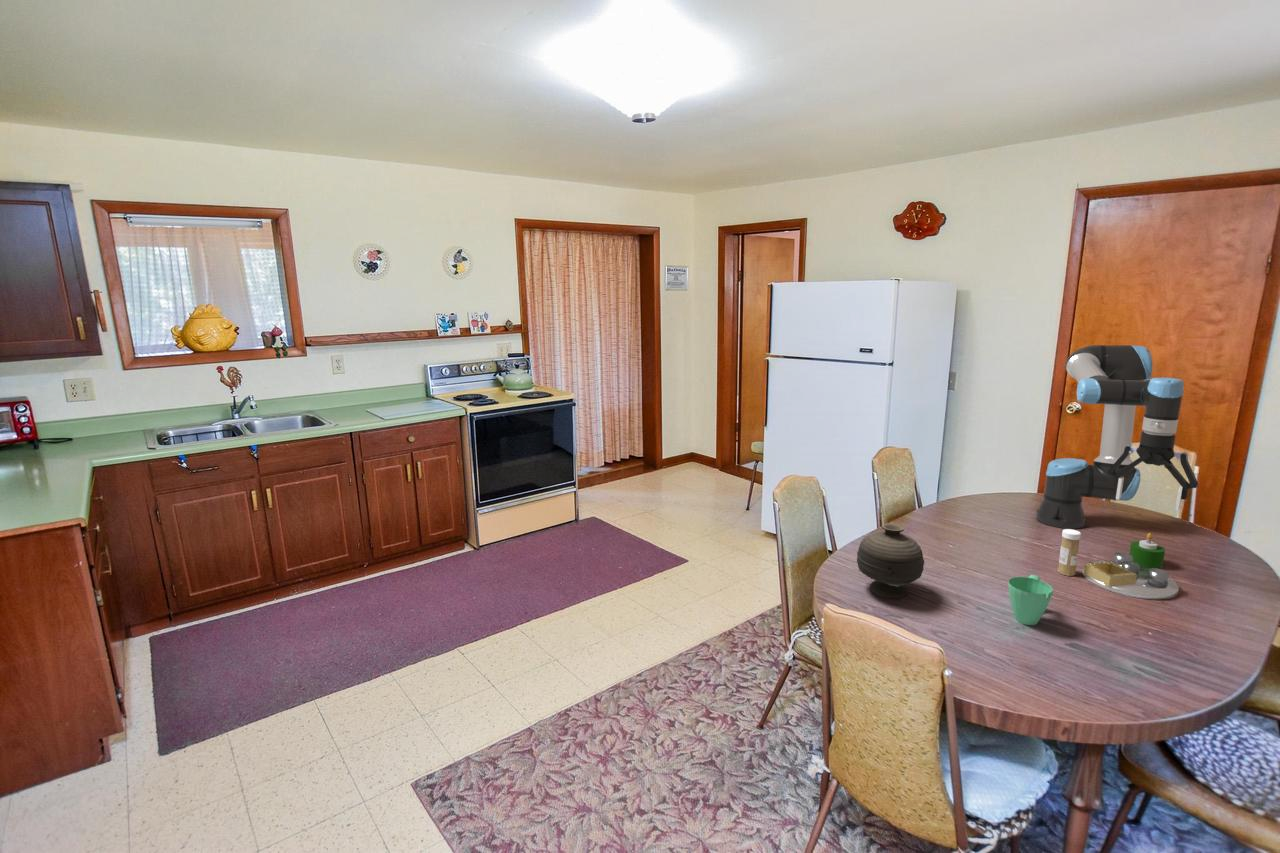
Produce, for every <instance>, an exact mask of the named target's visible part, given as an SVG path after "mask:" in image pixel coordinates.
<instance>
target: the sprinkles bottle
mask: <svg viewBox="0 0 1280 853" xmlns="http://www.w3.org/2000/svg"><path fill="white" fill-rule="evenodd" d="M1061 533H1062V534H1061V537H1062V538H1061V544H1060V552H1059V558H1058V568H1057V572H1058V573H1059V574H1061V575H1063V576H1068V577H1071V576H1072V577H1073V576H1076V570H1077V563H1078V554H1079V545H1080V540H1081V536H1082V533H1081V532H1080V531H1079V530H1075V529H1069V528H1063V530H1062V532H1061Z"/></svg>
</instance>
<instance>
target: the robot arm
mask: <svg viewBox="0 0 1280 853" xmlns="http://www.w3.org/2000/svg"><path fill="white" fill-rule="evenodd" d="M1065 370H1066V372H1067V374H1068V375H1069V376H1070V377H1071V378H1072V379H1075V380H1076V381H1077V387H1076V399H1077V401H1078V402H1079V403H1083V404H1089V405H1104V410H1103V420H1102V430H1101V436H1100V437H1101V438H1100V447H1099V448H1100V449H1099V455H1098V456H1097V457H1096V458H1094V459H1093V463H1092V464H1089V463H1088V462H1087V461H1086V460H1084V459H1083V458H1081V459H1080V458H1072V457H1071V458H1070V457H1069V458H1068V457H1067V458H1066V457H1064V458H1057V459H1053V460H1051V461H1050V462H1049V463H1048V464H1047V469H1046V472H1045V483H1044V490H1043V498H1042V501H1041V502H1040V504H1039V507H1038V509H1036V512H1035V516H1034V517H1035V520H1037V522H1039V523H1041V524H1044V525H1047V526H1050V527H1054V528H1055V527H1056V528H1059V529H1072V530H1075V529H1082V528H1084V527H1085V525H1086V517H1085V513H1084V509H1083V504H1082V503H1083V498H1092V499H1093V498H1094V499H1103V500H1112V501H1115V502H1116V501H1122V502H1124V501H1126V502H1127V501H1131V500H1132V499H1133V498H1134V497H1135V496H1136V494H1137V492H1138V490H1139V487H1140V483H1141V471H1140V469H1139V468H1136V466H1137V465H1139V464H1141V463H1145V464H1146V465H1154V466H1159V467H1160V466H1164V468H1166V469H1167V471H1168V472H1169V473H1170V474H1171V475H1172V477H1173V478H1174V479H1175V480H1176V482H1178V484H1179V485H1180V486H1179V488H1178V491H1177V497H1176V502H1175V509H1174V511H1178V512H1179V511H1180V509H1181V507H1182V506H1181V505H1182V500H1184V501H1185V500H1187V498H1188V495H1189V490H1190V489H1196V488H1197V487H1198V486H1199V482H1198V480H1197V477H1196V475H1195V473H1194V471H1193V469H1192V467H1191V465H1190V463H1189V459H1188V458H1189V455H1188V452H1186V451H1184V452H1183V451H1182V452H1175V449H1174V448H1175V441H1176V435H1175V434H1176V433H1177V429H1178V424H1179V417H1180V411H1181V405H1182V400H1183V395H1184V393H1185V392H1184V386H1185V385H1184V384H1185V383H1184V381H1183V379H1180V378H1175V377H1174V378H1173V377H1153V378H1152V376H1153V374H1152V373H1153V358H1152V354H1151V352H1150V350H1149V349H1148V348H1147V347H1146V346H1142V345H1132V344H1130V345H1129V344H1127V345H1124V344H1123V345H1122V344H1121V345H1114V344H1111V345H1108V344H1107V345H1105V344H1104V345H1101V344H1092V345H1087V346H1083V347H1081V348H1079V349H1077V350H1075V351H1072V352H1071V354H1069V356H1068V357H1067V359H1066V361H1065ZM1137 407H1145V408H1144V415H1143V421H1142V427H1141V430H1142V432H1141V434H1140V439H1139V440H1140V441H1139V445H1138V447H1136V446H1132V445H1133V443H1132V442H1133V434H1134V424H1135V417H1136V416H1135V415H1136V408H1137ZM1135 452H1136V453H1137V455H1138V456H1139V457H1138V458H1136V459H1135V460H1134V461H1133V460H1132V458H1131V455H1132V454H1133V453H1135ZM1174 457H1175V458H1176V460H1177V461H1178V462H1180V465H1181V467H1182V469H1183V471H1184V473H1185V476H1186V478H1187V480H1186V479H1185V477H1184V476H1183V474H1181V473H1180V471H1179V470H1178V469H1177V467H1176V466H1175V464H1173V462H1172V461H1171V460H1172V459H1174Z"/></svg>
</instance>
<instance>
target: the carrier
mask: <svg viewBox="0 0 1280 853" xmlns="http://www.w3.org/2000/svg"><path fill="white" fill-rule="evenodd" d="M1132 561H1133V556H1132V555H1130V554H1129V553H1126V552H1122V551H1121V552H1117V551H1116V552H1114V556H1113V561H1112V560H1094V561H1090V562H1086V563H1085V564H1084V565H1083V567H1082V570H1081V571H1082V576H1083V577H1084V579H1086V581H1088V582H1090V583H1091V584H1092V585H1095V587H1096V586H1097V587H1099V588H1101V589H1103V590H1106V591H1109V592H1112V593H1114V594H1118V595H1121V596H1126V597H1129V598H1130V597H1131V598H1136V599H1143V600H1151V601H1152V600H1153V601H1156V600H1157V601H1158V600H1159V601H1160V600H1161V601H1162V600H1164V599H1165V600H1169V599H1173V598H1175V597H1176V596H1178V594H1179V584H1178V583H1177V582H1176V581H1175V580H1174V579H1172V578H1171V577H1170V572H1169V571H1167V570H1166V569H1165V570H1164V569H1163V568H1160V569H1157V568H1151V569H1149V568H1145V567H1141V566H1140V565H1139V564H1137V563H1134V562H1132Z"/></svg>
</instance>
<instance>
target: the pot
mask: <svg viewBox="0 0 1280 853" xmlns="http://www.w3.org/2000/svg"><path fill="white" fill-rule="evenodd" d="M881 529H883V530H878V531H874V532H870V534H867V535H866V536H865V537H864V538H863V539H862V540H860V544H859V546H858V550H857V553H856V556H857V557H856V563H857V568H858V570H859V571H860V572H861V573H862V574H863V575H865V576H866V577H867V578H869V579H871V580H873V581H872V582H871V583H870V585H869V590H870V591H871V593H872V594H873V595H876V596H878V597H882V598H884V599H885V598H886V599H891V600H892V599H896V600H897V599H902V598H904V597H907V595H908V589H907V588H906V586H904V585H907V584H911V583H913V582H916V580H919V579H920V578H921V577H922V574H923V572H924V565H925V559H924V554H923V550H922V548H921V546H920V545H919V544H918V542H917V541H916V540H914V539H913V537H911V536H909V535H907V534H905V533H902V532H904V531H905V527H903V526H902V525H898V524H896V523H889V522H888V523H885V524H881Z"/></svg>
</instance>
